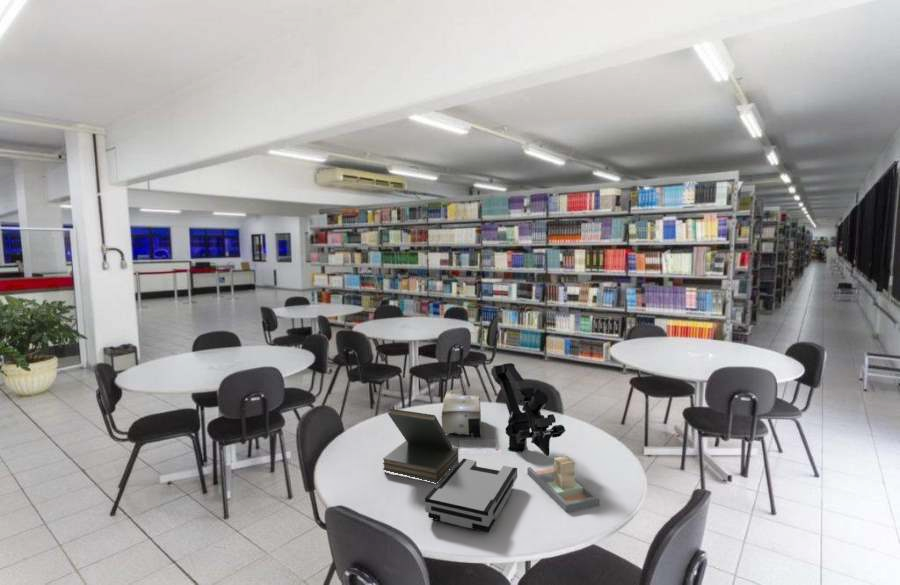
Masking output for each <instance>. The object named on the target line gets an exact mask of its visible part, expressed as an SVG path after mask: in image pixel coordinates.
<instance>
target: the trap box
mask: <svg viewBox="0 0 900 585" xmlns="http://www.w3.org/2000/svg"><path fill="white" fill-rule="evenodd" d="M526 474H527V475H528V476H529V478H531V480H532V481H534V482H535V483H536V485H538V487H540V488H541V489H542V490H543V491H544V492H545V493H546V494H547V495H548V496H549V497H550V498H551V499H552V500H553V501H554V502H555V503H556V504H557V506H559V507H560V508H561V509H562V510H563V511H564V513H569V512H570V513H571V512H574V511H579V510H585V509H588V508H589V509H590V508H593V507H598V506H600V498H599V496H597V495H596V494H595V493H593V492H592V491H591V490H590V489H589V488H587V487H586V486H585V485H584V484H583V483H582V482H580V481H579V480H578V479H577V478H576V477H575V478H574V487H573V488H567V489H562V490H561V489H560V488H559V487H558V486H557V485H556V484H555V483H554V467H553V468H548V469H543V470H538V471H535V470H534V469H533V467H531V466H530V467H527V472H526Z"/></svg>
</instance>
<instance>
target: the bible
mask: <svg viewBox="0 0 900 585" xmlns="http://www.w3.org/2000/svg"><path fill="white" fill-rule="evenodd" d="M387 414H388V416H389V418H390V419H391V421H392V422H393V423H394V425H395V426H396V428H397V429H398V431H399V432H400V433H401V435H402V436H403V438H404V440H405V441H403V442H402V443H401V444H400V445H399V446H397V447H396V448H395V449H394V450H391V451H390V452H389V453H388V454H386V455H385V456H384V457H383V458H382V459H383V462H382V464H383V471H384V470H386V471H390V472H394V473H398V474H403V475H407V476H410V477H415V478H419V479H422V480H427V481H430V482H434V483H437V482H438V481H439V480H440V479H441V478H442V477H443V476H444V475H445V474H446V473H447V472H448V471H449V469H451V468H452V467H453V466H454V465H455V466H456V465H457V464H458V463H459V447H453V444H452V442H451V441H450V439H449V437H448V435H447V434H445V432H444V430H443V428H442V424H441V423H440V422H439V420H438V418H437V416H436V415H435V414H429V413H423V412H422V413H421V412H415V411H407V410H402V409H395V408H389V411H388V412H387ZM455 466H454V467H455ZM454 467H453V468H454ZM453 468H452V469H453ZM452 469H451V470H452ZM449 472H450V471H449ZM449 472H448V473H449ZM448 473H447V474H448ZM447 474H446V475H447ZM446 475H445V476H446ZM445 476H444V477H445ZM444 477H443V478H444ZM443 478H442V479H443ZM442 479H441V480H442ZM441 480H440V481H441ZM440 481H439V482H440Z"/></svg>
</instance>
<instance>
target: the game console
mask: <svg viewBox="0 0 900 585" xmlns="http://www.w3.org/2000/svg"><path fill="white" fill-rule="evenodd" d="M517 478H518V467H512V466H507V465H503V466H502V467H501V468H500V470H498V469H493V468H487V467H482V466H477V460H474V459H469V458H462V459H461V460H460V462H458V463H457V464H456V465H455V466H454V467H453V469H452V471H451V472H450V473H449V474H448V475H447V476H446V477H445V479H443V480H442V482H440V484H439V485H438V486H437V487H433V488H432V489H431V490H430V491H429V493H428V494H427V495H426V496H425V498H424V506H425V507H424V512H425V513H428V516H427V517H428V519H429V518H430V519H431V518H433V519H432V520H434V519H437V520H436V521H439V520H440V521H439V522H443V523H447V524H451V525H456V526H460V527H463V528H469V529H472V528H473V530H476V529H477V531H481V532H485V533H489V532H490V531H491V529H492V527H493V525H494V524H495V522H496V520H497V518H498V516H500V513H501V511H502V510H503V508H504V506H505V504H506V503H507V501H508V499H509V498H510V496H511V494H512V491H513V490H512V489H513V487H514V484H515V482H516V481H517Z"/></svg>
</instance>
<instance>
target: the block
mask: <svg viewBox="0 0 900 585" xmlns="http://www.w3.org/2000/svg"><path fill="white" fill-rule="evenodd" d="M553 458H554V459H553V460H554V461H553V462H554V463H553V468H554V483H555V484H556V485H557V486H558V487H559V488H560V489H561V490H562V489H567V488H573V487H574V478H576V477H575V475H576V472H575V468H576V467H575V464H576V462H575V461H574V460H572V458H570V457H569V456H567V455H564V456H559V457H553Z"/></svg>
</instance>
